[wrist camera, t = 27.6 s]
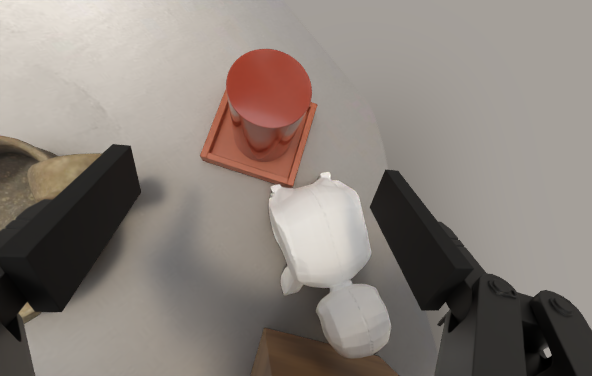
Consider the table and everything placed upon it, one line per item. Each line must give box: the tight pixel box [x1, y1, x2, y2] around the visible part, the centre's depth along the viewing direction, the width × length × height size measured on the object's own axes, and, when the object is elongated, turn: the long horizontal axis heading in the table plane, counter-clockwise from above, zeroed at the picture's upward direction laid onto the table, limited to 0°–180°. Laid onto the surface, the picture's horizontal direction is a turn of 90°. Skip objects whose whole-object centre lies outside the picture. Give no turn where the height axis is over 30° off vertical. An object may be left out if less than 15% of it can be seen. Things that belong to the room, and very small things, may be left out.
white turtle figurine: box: [269, 172, 392, 359], centre depth 23 cm, size 8×8×15 cm
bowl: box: [0, 136, 102, 323], centre depth 18 cm, size 14×18×10 cm
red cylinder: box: [226, 49, 312, 162], centre depth 22 cm, size 6×6×9 cm
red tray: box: [200, 90, 317, 188], centre depth 26 cm, size 9×9×2 cm
